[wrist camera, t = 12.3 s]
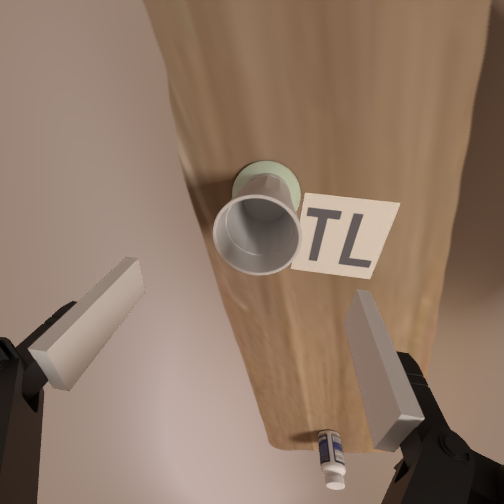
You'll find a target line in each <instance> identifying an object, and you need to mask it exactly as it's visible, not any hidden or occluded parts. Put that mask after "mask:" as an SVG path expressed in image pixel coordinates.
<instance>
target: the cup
mask: <svg viewBox="0 0 504 504" xmlns="http://www.w3.org/2000/svg"><path fill="white" fill-rule="evenodd" d="M213 240H214V244H215V247H216V249H217V251H218V253H219V254H220V256H221V257H222V258H223V259H224V260H225V261H226V262H227V263H228V264H229V265H230V266H232V267H233V268H235V269H237V270H239V271H241V272H244V273H247V274H252V275H268V274H272V273H276V272H278V271H280V270H282V269H284V268H286V267H287V266H288V265H289V264H290V263H292V261H293V260H294V259H295V258H296V256H297V254H298V253H299V250H300V247H301V243H302V230H301V226H300V223H299V220H298V217H297V214H296V211H295V209H294V206H293V203H292V199H291V191H290V188H289V186H288V184H287V183H286V181H285V180H284V179H283V178H281V177H280V176H278V175H276V174H273V173H261V174H258V175H255V176H254V177H252V178H251V179H250V180H249V181H248V182H247V184H246V185H245V186H244V187H243V188H242V189H241V190H240V191H239V192H238V193H237V194H236V195H235V196H234V197H233V198H232V199H231V200H230V201H229V202H228V203H227V204H226V205H225V206H224V207H223V208H222V209H221V210H220V212H219V213H218V215H217V217H216V219H215V222H214V225H213Z"/></svg>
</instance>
